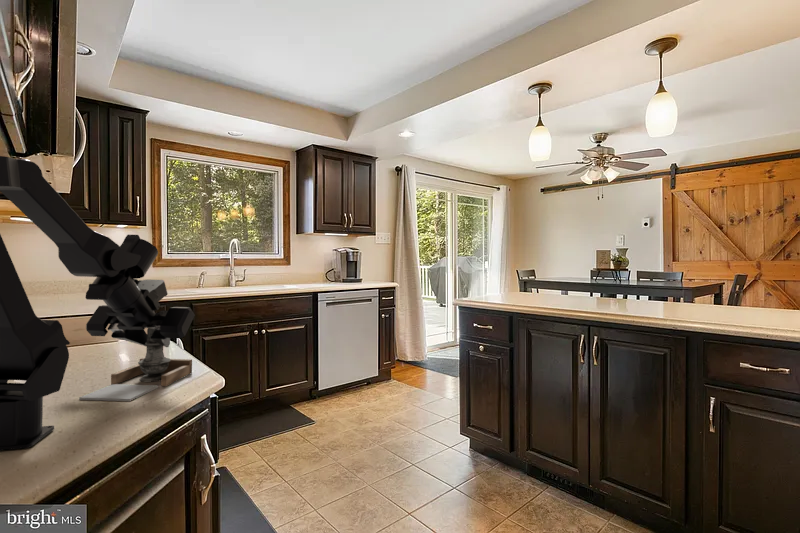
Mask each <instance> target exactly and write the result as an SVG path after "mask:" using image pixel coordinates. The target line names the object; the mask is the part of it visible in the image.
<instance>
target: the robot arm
mask: <svg viewBox="0 0 800 533" xmlns="http://www.w3.org/2000/svg"><path fill="white" fill-rule="evenodd" d="M0 193H1V194H3V195H4V196H5V197H6V198H7V199H8V200H9V201H10V202H11V203H12V204H13V205H15V207H16V208H18V210H20V212H22V214H24V215H25V216H26V217H27V218H28V219H29V220H30V221H31V222H32V223H33V224H34V225H35V226H36V227H37V228H38V229H39V230H40V231H42V233H44V235H46V236H47V238H49V239H50V240H51V242H53V243H54V245H55V246H56V247H57V250H58V252H57V253H58V254H57V255H58V259H59V261H60V262H62V264H63V266H64V267H65V268H66V270H67V271H68V272H69V274H71V275H73V276H74V277H82V278H83V277H84V278H86V277H87V278H95V279H94V280H93V282H92V283H89V284H88V289H87V291H86V292H85V299H86V300H88V301H89V300H93V301H94V300H95V301H96V300H97V301H103V302H104V304H105V305H98V307H97V308H96V309H95V311H94V312H93V314H92V315H91V316H90V318H89V319H88V321H87V322H86V324H85V330H86V332H87V333H88V334H89V335H90V336H92V337H105V336H106V335H107V334H108V333H109V332H108V331H111V332H112V333H111V335H110V336H111V338H113V339H118V340H121V341H126V342H129V343H134V344H136V345H137V344H138V345H141V346H144V347H146V348H147V345H146V344H145V343H146V342H147V331H146V329H148V328H155V329H154V330H155V331H154V332H153V334H152V336H151V339H152V340H154V341H155V342H157V343H159V344H161V345H162V346H163V348H169V347H170V344H171V339H183V338H184V337H185V336H186V334H187V333H188V330H189V329H190V326H191V324H192V322H193V320H194V318H195V316H196V314H195V313H194V311H193V310H192V308H191V307H189V306H188V307H187V306H173V307H169V309H168V310H163V309H162V310H160V311H159V312H156V311H158V310H159V309H160V307H161V304H160V303H159V302H160V301H161V300H162V299H163V298H164V297H167V296H168V295H169V294H168V290H167V286H166V283H165V280H164V279H143V280H141V279H142V278H144V277H145V275H146V274H147V272H148V271H149V269H150V268H151V266H152V265H153V263H154V262H155V260H156V258H157V257H158V254H159V250H158V247H157V246H156V245H154V244H152V243H151V242H150V241H147V240H145V239H143V238H141V237H140V235H139V234H126V236H125V237H124V239H123V241H122V243H121V244H120V245H119V244H118V243H117V242H115V241H114V240H113V239H112V238H110V237H109V236H107V235H105V234H102V233H100V232H98V231H95V230H94V229H92V228H91V227H89V226H88V225H87V224H86V223H85V222H84V220H83V219H82V218H81V217H80V216H79V214H78V213H77V212H76V211H74V209H73V208H72V207H71V206H70V205H69V204H68V202H67V201H66V200H65V199H64V198H63V197H62V196H61V194H59V192H58V191H57V190H56V189H55V188H54V187H53V186H52V185H51V184H50V183H49V182H48V180H47V179H46V178H45V177H44V176H43V172H42V169H41V168H40V166H39V165H38V164H37V163H36V162H34V161H31V160H29V159H26V158H13V157H11V156H10V157H9V156H5V155H4V156H3V155H0ZM63 329H64V328H63V325H62V324H61V322H60V321H59V320H57V319H56V320H55V319H41V318H40V317H38V316H37V315H36V313H35V311H34V308H33V307H32V304H31V302H30V300H29V297H28V294H27V293H26V291H25V288H24V285H23V283H22V282H21V279H20V277H19V274H18V271H17V269H16V267H15V264H14V262H13V260H12V257H11V255H10V253H9V251H8V249H7V245H6V244H5V241H4V239H3V237H2V235H1V233H0V451H3V450H2V449H9V450H17V449H18V450H19V449H27V448H31V447H33V446H34V445H36V443H38V442H39V441H40V440H42V439H43V438H44V437H46V436H47V435H49V434H50V433H51V432H53V431H54V430H55V425H43V420H44V419H43V415H44V414H43V413H44V412H43V408H44V405H43V404H44V403H43V402H44V397H46V396H49V395H52V394H54V393H57V392H59V391H60V390H61V386H62V383H63V379H64V377H65V373H66V369H67V367H68V366H67V365H68V363H69V358H70V353H69V349H68V348H69V347H68V346H67V345H70V344H71V342H70V341H69V340H68V339H67V337H66V335H65V333H64V330H63ZM8 381H24V382H23V383H22V382H21V383H20V382H8Z"/></svg>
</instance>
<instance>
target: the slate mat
mask: <svg viewBox="0 0 800 533" xmlns="http://www.w3.org/2000/svg"><path fill="white" fill-rule="evenodd" d="M158 388H159V385H156V384H128V383H126V384H123V383H122V384H121V383H119V384H111V383H110V384H109V385H107V386H104V387H102V388H99V389H96V390H94V391H92V392H90V393H87V394H85V395H81V396H80V397H78V398H79V399H78V400H80V401H81V400H82V401H109V402H111V401H112V402H131V400H132V401H133V399H134V400H136V399H137V398H140V397H142V396H144V395H146V394H148V393H150V392H152V391H154V390H156V389H158ZM135 398H136V399H135Z"/></svg>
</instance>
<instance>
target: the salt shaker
mask: <svg viewBox="0 0 800 533" xmlns="http://www.w3.org/2000/svg"><path fill="white" fill-rule="evenodd" d="M146 329H147V330H146V334H147V342H146V343H145V344H146V345H147V347H146V353H145V357H143V358H144V359H143V360H141V361H140V360H138V362H137V364H139V365H140V369H141V371H142V372H143V374H144V375H143V376H141V377H140V378H139V379H138V380H139V381H140V382H144V383H151V381H154V382H159V380H160V381H161V376H162V375H164V374H165V373H162V372H164V371H165V370H166V369H167V368H168V366H169V362H170V361H171V359H172V358H169V357H166V356H165V354H164V353H165V352H164V346H162V345H161V344H159V343H157V342H155V341H154V340H152V339H151V336H152V334H153V332H154V331H155V330H154V329H155V328H146Z"/></svg>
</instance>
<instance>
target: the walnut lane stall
mask: <svg viewBox="0 0 800 533" xmlns="http://www.w3.org/2000/svg"><path fill="white" fill-rule="evenodd" d="M144 358H145V357H142V358H139V361H141V360H143V359H144ZM170 359H171V361H170V362H169V366H168V368H167V369H166V370H165V371H164V372H162V373H165V374H164V375H162V376H161V380H160V382H161V384H160V385H161V386H162V387H168V386H169V385H171V384H173V383H175V382H177V381H179V380H181V379H183V378H184V376H185V377H187V376H189V375H191V374H192V373H193V372H192V371H193V359H191V358H187V359H185V358H170ZM190 373H191V374H190ZM142 374H144V373H143V372H142V371H141V369H140V365H139V364H138V363H137V364H136V365H132V366H130V367H128V368H124V369H122V370H119V371H115V372H113V373H111V375H110V385H111V384H121V383H123V382H125V381H128V380H130V379H133V378H136V377H137V376H140V375H142ZM188 374H189V375H188ZM186 375H187V376H186ZM182 377H183V378H182ZM180 378H181V379H180ZM178 379H179V380H178ZM176 380H177V381H176ZM174 381H175V382H174Z"/></svg>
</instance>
